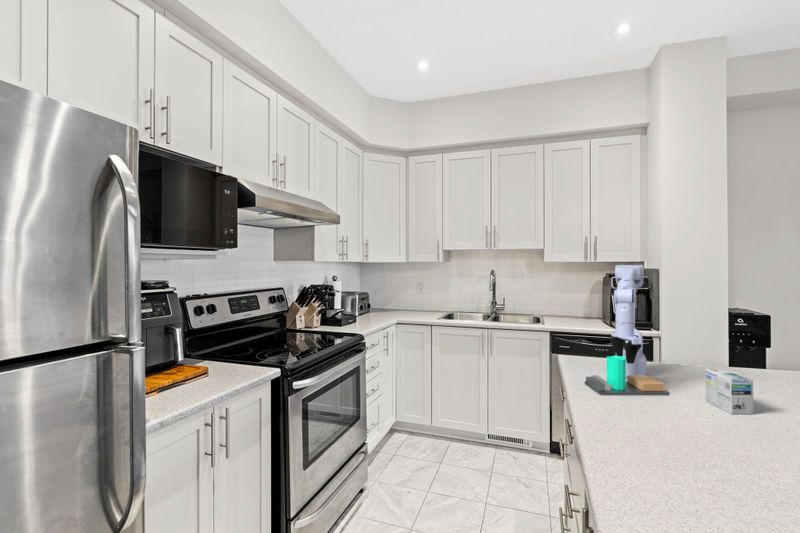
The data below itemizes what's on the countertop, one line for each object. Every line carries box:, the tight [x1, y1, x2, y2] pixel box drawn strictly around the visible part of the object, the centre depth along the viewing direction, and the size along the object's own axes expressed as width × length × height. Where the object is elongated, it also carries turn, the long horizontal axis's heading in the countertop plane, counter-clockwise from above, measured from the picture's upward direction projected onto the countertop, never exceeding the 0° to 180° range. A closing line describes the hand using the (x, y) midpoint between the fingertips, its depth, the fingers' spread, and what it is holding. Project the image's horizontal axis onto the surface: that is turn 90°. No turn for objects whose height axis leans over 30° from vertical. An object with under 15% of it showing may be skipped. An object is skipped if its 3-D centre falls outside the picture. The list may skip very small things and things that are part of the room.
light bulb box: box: [705, 368, 754, 415], centre depth 122 cm, size 11×7×11 cm, turn 179°
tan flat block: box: [626, 374, 665, 391], centre depth 140 cm, size 7×10×2 cm
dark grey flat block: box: [584, 375, 670, 396], centre depth 140 cm, size 23×12×4 cm, turn 89°
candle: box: [606, 355, 627, 390], centre depth 139 cm, size 6×6×12 cm
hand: (624, 360), depth 140 cm, fingers open, 7 cm apart
